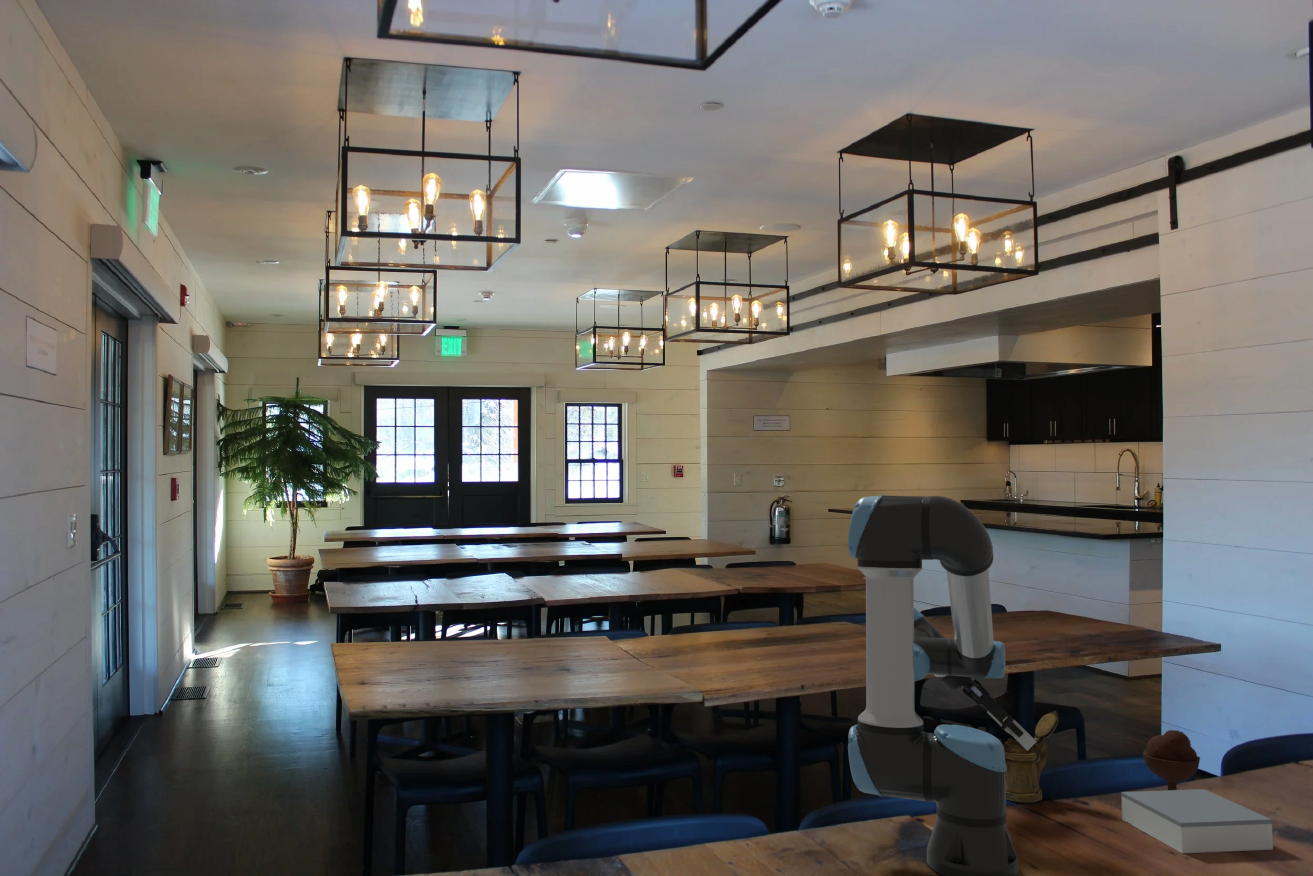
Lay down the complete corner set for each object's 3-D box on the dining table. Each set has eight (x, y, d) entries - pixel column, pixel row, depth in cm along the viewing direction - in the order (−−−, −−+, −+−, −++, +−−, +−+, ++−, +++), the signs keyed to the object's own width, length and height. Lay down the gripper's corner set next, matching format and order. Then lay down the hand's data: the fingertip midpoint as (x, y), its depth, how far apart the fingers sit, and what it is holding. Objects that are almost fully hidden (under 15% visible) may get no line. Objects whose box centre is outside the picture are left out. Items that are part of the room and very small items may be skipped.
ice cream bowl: (1202, 797, 203) (1200, 727, 204) (1200, 812, 193) (1197, 738, 194) (1147, 789, 208) (1145, 720, 209) (1142, 803, 199) (1140, 731, 200)
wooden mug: (1070, 801, 200) (1068, 715, 201) (1009, 804, 198) (1008, 717, 199) (1048, 788, 209) (1046, 706, 210) (990, 790, 207) (988, 707, 208)
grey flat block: (1182, 853, 171) (1181, 823, 171) (1122, 819, 189) (1121, 792, 189) (1272, 849, 173) (1271, 819, 173) (1205, 816, 191) (1204, 789, 191)
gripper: (976, 665, 194) (1053, 740, 192) (949, 644, 219) (1017, 711, 217) (950, 690, 194) (1027, 766, 192) (926, 667, 219) (993, 734, 217)
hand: (1021, 737), depth 205 cm, fingers open, 13 cm apart
